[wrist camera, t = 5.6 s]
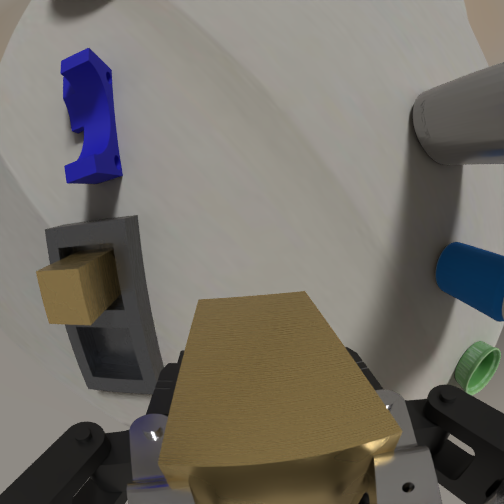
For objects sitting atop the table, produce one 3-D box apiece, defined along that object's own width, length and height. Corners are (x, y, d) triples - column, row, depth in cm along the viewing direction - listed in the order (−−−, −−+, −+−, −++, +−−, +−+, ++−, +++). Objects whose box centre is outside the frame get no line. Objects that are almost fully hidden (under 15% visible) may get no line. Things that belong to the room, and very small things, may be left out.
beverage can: (455, 293, 30) (517, 326, 18) (425, 286, 29) (493, 324, 18) (469, 247, 29) (536, 269, 17) (440, 235, 28) (514, 257, 16)
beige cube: (117, 247, 25) (77, 268, 17) (124, 290, 26) (91, 325, 18) (80, 250, 25) (36, 271, 17) (88, 291, 26) (49, 323, 18)
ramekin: (444, 388, 34) (458, 402, 30) (462, 342, 32) (479, 354, 28) (475, 376, 35) (488, 387, 31) (491, 333, 33) (507, 343, 29)
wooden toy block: (304, 291, 12) (403, 430, 4) (303, 374, 13) (357, 515, 5) (198, 299, 11) (157, 464, 4) (211, 383, 12) (203, 535, 4)
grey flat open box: (137, 215, 25) (124, 218, 22) (165, 375, 29) (160, 394, 25) (63, 224, 24) (44, 229, 21) (98, 372, 28) (88, 388, 25)
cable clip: (76, 85, 22) (48, 67, 16) (112, 70, 22) (88, 47, 16) (85, 188, 24) (53, 188, 18) (123, 175, 24) (96, 172, 18)
